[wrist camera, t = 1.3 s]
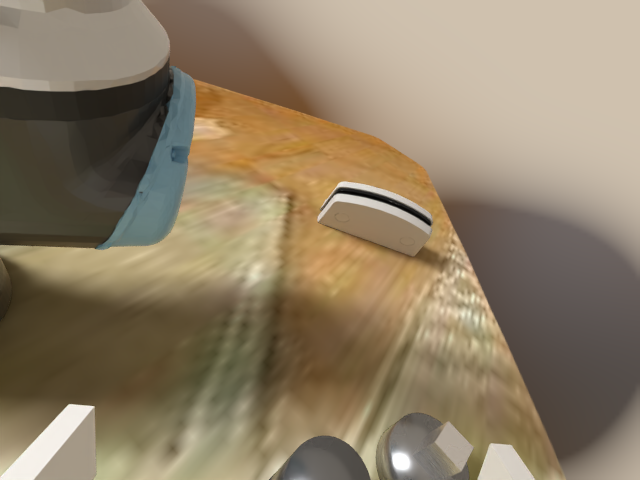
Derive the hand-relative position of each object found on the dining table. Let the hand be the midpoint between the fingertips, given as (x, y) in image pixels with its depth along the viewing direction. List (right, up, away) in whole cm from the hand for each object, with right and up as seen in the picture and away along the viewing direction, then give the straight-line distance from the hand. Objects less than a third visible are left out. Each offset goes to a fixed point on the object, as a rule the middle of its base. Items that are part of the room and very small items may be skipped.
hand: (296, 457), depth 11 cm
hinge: (+8, +8, +41) cm, 43 cm away
